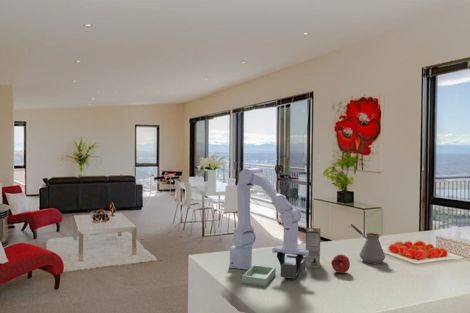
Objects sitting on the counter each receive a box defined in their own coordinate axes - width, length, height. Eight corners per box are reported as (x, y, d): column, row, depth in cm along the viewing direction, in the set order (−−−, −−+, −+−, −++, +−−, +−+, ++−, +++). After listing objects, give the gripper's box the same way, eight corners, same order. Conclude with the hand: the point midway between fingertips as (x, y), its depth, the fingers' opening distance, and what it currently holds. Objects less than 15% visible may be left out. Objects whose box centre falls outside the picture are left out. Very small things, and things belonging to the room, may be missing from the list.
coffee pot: (390, 263, 191) (391, 231, 190) (371, 266, 186) (372, 233, 185) (358, 252, 210) (359, 223, 210) (340, 254, 205) (341, 224, 205)
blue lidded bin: (280, 276, 164) (280, 262, 164) (286, 269, 175) (286, 256, 175) (295, 278, 162) (296, 264, 162) (300, 271, 173) (301, 257, 172)
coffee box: (305, 261, 192) (306, 227, 191) (319, 262, 190) (320, 228, 190) (304, 267, 183) (305, 231, 182) (319, 268, 181) (320, 232, 181)
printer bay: (282, 273, 173) (283, 259, 172) (287, 268, 180) (287, 254, 180) (302, 276, 170) (302, 261, 170) (305, 270, 178) (305, 256, 177)
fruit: (327, 272, 175) (327, 254, 175) (336, 268, 181) (337, 250, 181) (344, 277, 170) (344, 258, 170) (353, 272, 176) (353, 254, 176)
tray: (241, 283, 160) (241, 275, 160) (253, 271, 175) (253, 264, 175) (265, 286, 157) (265, 278, 157) (275, 274, 172) (275, 267, 171)
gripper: (270, 239, 164) (269, 272, 165) (306, 242, 159) (306, 277, 160) (274, 235, 171) (274, 267, 171) (309, 238, 166) (309, 271, 166)
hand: (289, 272), depth 166 cm, fingers closed on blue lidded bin, 5 cm apart
